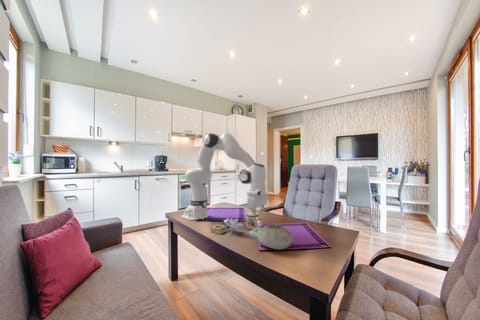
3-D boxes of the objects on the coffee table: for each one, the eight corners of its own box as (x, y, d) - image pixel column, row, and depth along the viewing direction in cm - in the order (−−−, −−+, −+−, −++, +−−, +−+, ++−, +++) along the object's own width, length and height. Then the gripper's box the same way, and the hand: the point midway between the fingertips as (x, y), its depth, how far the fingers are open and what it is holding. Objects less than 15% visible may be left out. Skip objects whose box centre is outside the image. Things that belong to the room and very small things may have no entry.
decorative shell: (297, 244, 104) (297, 225, 104) (284, 257, 90) (284, 235, 90) (267, 237, 114) (266, 220, 115) (251, 248, 100) (251, 228, 100)
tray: (249, 236, 116) (249, 232, 116) (255, 231, 123) (255, 227, 123) (263, 239, 111) (263, 235, 111) (269, 234, 119) (269, 230, 119)
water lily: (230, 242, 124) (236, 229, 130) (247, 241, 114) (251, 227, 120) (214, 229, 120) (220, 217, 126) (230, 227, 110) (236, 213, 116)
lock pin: (255, 234, 116) (255, 217, 117) (258, 233, 119) (258, 216, 120) (261, 236, 115) (261, 218, 115) (263, 234, 118) (263, 217, 118)
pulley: (221, 227, 132) (221, 219, 132) (227, 225, 138) (227, 217, 138) (230, 229, 128) (230, 221, 128) (235, 226, 134) (235, 218, 134)
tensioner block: (210, 232, 124) (210, 227, 124) (217, 228, 130) (217, 224, 130) (219, 234, 120) (219, 229, 120) (226, 230, 126) (226, 226, 126)
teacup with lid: (243, 227, 132) (243, 210, 132) (250, 224, 139) (250, 207, 139) (258, 231, 124) (258, 212, 125) (265, 227, 132) (265, 210, 132)
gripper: (261, 188, 128) (260, 209, 128) (245, 192, 111) (245, 217, 111) (270, 189, 125) (269, 210, 125) (255, 193, 107) (255, 218, 107)
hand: (258, 213), depth 117 cm, fingers open, 8 cm apart
